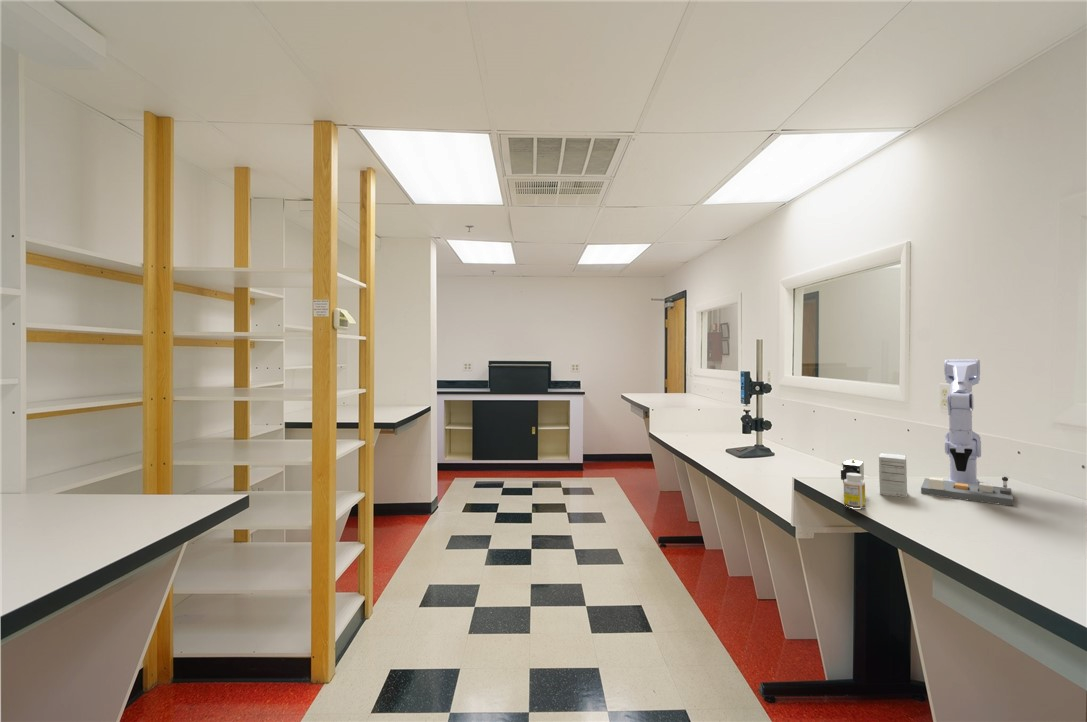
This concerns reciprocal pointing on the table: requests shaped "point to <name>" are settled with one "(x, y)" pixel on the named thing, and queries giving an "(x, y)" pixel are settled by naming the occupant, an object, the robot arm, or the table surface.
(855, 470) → the pneumatic valve
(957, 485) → the orange button
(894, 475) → the supplement box
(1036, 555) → the table surface
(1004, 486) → the toggle lever
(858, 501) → the supplement bottle
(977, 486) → the control panel
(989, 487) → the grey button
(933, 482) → the block
